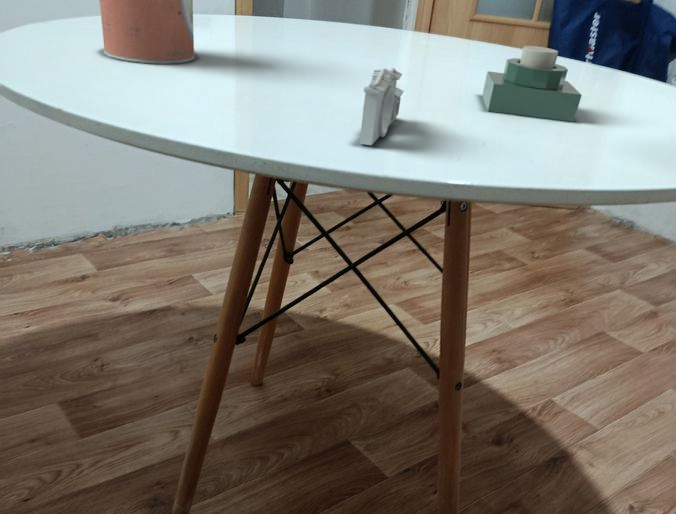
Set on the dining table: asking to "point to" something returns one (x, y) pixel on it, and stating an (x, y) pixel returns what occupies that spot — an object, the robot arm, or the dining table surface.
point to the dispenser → (531, 92)
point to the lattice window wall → (380, 105)
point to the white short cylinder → (539, 57)
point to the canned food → (148, 30)
